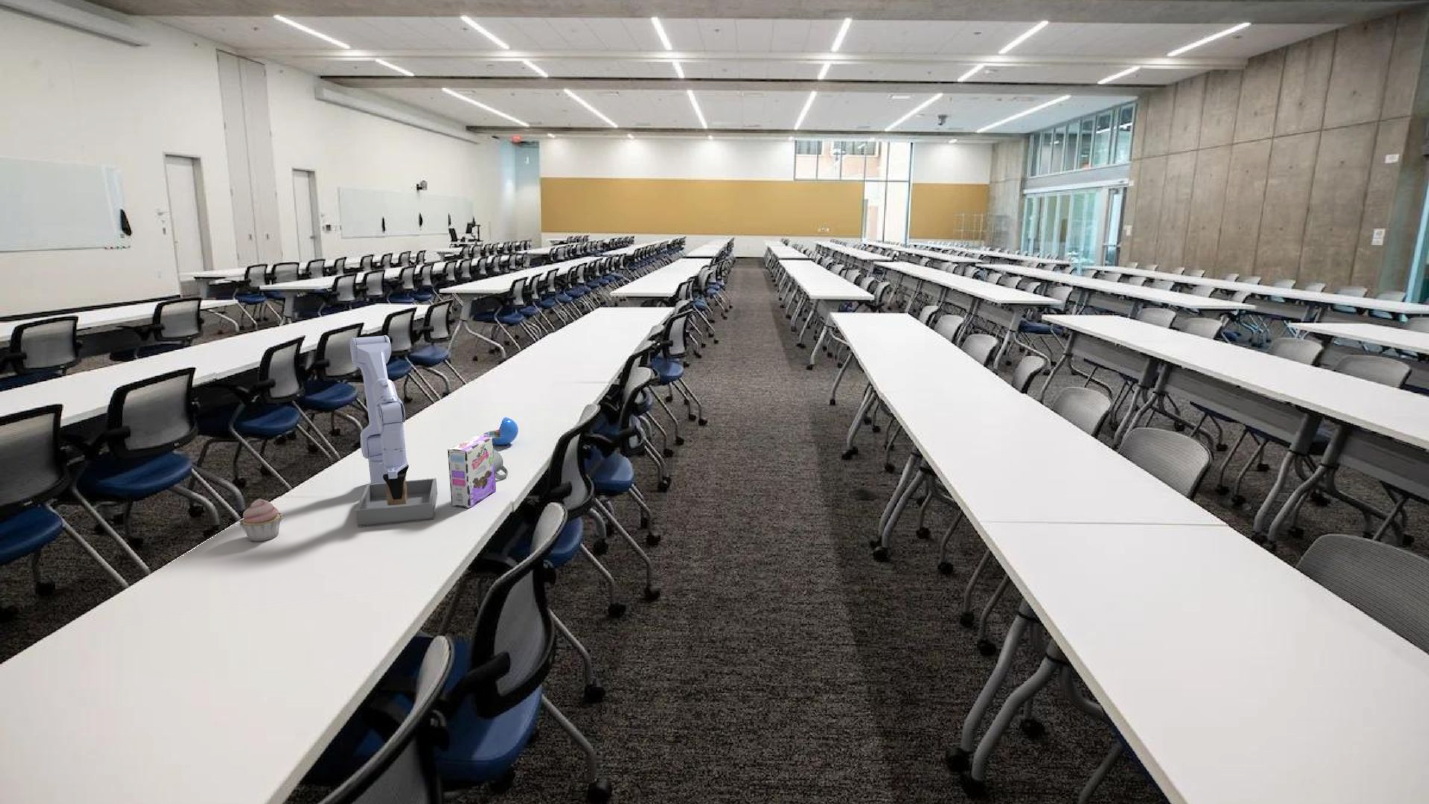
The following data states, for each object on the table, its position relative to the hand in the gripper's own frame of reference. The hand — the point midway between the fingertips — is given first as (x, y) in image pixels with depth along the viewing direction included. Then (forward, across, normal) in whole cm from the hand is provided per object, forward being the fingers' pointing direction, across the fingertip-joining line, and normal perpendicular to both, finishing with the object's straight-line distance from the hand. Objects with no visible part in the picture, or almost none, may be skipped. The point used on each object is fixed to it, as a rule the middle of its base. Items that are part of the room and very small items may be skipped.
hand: (398, 495), depth 200 cm
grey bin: (+4, 0, 0) cm, 4 cm away
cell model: (+4, -54, +28) cm, 61 cm away
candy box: (+4, -3, +19) cm, 20 cm away
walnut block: (+2, 0, 0) cm, 2 cm away
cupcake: (+4, +10, -30) cm, 32 cm away
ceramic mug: (+4, -21, +24) cm, 32 cm away
